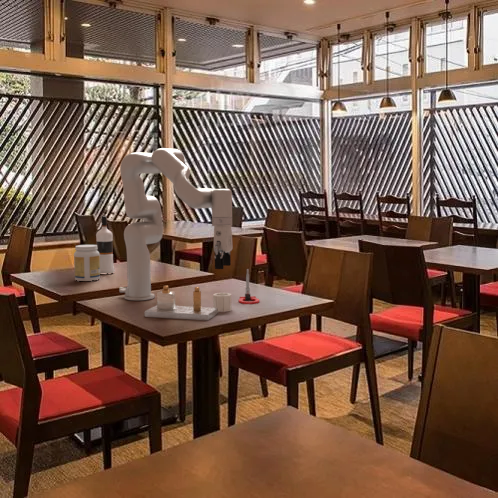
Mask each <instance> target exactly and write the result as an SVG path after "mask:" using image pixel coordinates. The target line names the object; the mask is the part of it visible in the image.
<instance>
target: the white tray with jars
mask: <svg viewBox="0 0 498 498" xmlns="http://www.w3.org/2000/svg"><path fill="white" fill-rule="evenodd" d="M201 291H202V290H200V286H194V291H192V300H193V303H192V306H188V305H187V306H185V305H176V292H175V291H172V290H170V288H169V285H163V288H162V289H161V291H157V292H156V305H154V306H152V307H150V308H148V309H146V310H145V311H144V317H146V318H162V319H178V320H195V321H196V320H197V321H209V320H211V319H213V318H214V317H215V316H217V315H218V314H219V312H218V308H213V307H210V306H209V307H208V306H207V307H205V306H202V292H201Z"/></svg>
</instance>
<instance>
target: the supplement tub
mask: <svg viewBox="0 0 498 498" xmlns="http://www.w3.org/2000/svg"><path fill="white" fill-rule="evenodd" d="M97 249H98V248H97V244H78V245H75V251H74V253H73V260H74V261H73V262H74V263H73V265H74V266H73V267H74V280H75V281H76V280H77V281H76V282H79V281H91V280H97V279H99V280H100V278H101V275H100V256H99V255H100V254H99V252H98V251H97ZM97 281H98V280H97ZM91 282H92V281H91Z"/></svg>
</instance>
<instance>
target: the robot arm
mask: <svg viewBox="0 0 498 498" xmlns="http://www.w3.org/2000/svg"><path fill="white" fill-rule="evenodd" d="M119 168H120V169H119V173H120V177H121V182H122V187H123V189H122V190H123V199H124V208H125V213H126V216H127V217H128V218H129V219H135V220H139V219H140V220H141V219H143V221H135V222H132V223H130V224H128V225H127V226H125V228H124V231H123V240H124V243H125V248H126V262H127V263H126V265H127V266H126V268H127V269H126V270H127V273H126V274H127V286H126V287H122V286H121V287H119V289H118V290H119V293H121V294H122V293H124V295H123V298H124V300H128V301H149V300H152V299H155V298H156V294H155V293H152V285H151V284H152V282H151V281H152V280H151V277H152V274H151V271H152V270H151V254H150V250H149V249H148V245H151V244H152V245H153V244H156V243H159V242H160V241H161V240H162V238H163V235H164V229H163V228H164V227H163V216H162V215H163V213H162V207H161V203H160V202H159V200H158V198H157V197H155V196H153V195H149V194H146V192H145V183H144V181H143V179H142V178H141V176H140V175H141V174H145V175H146V174H148V175H149V174H150V175H151V174H153V175H155V174H162V175H163V176H164V177H165V178H167V179H168V181H170V182H171V183H172V184H173V189H174V192H175V194H176V195H177V197H178V198H179V200H181V201H182V202H183V203H184V204H186V205H187V206H188V207H190V208H192V209H195V210H196V209H211V219H212V220H211V226H212V227H213V252H214V269H215V270H224V266H226V267H227V266H228V267H229V266H231V262H232V261H231V260H232V259H231V252H232V250H233V248H234V247H233V231H232V226H233V196H232V195H233V194H232V193H233V192H232V190H231V189H229V188H212V187H211V188H210V187H207V188H204V187H203V188H202V187H201V188H197V187H196V186H194V185H193V184H192V183H191V182H189V180H188V179H189V178H190V175H191V169H190V168H189V167H188V166H187V165H186V164H185V155H184V153H183V152H182V151H181V150H179V149H177V148H168V147H167V148H166V147H161V148H157V149H155V150H154V151H153V152H139V151H137V152H136V151H135V152H131V153H128V154H126V155H125V156H124V157H123V159H122V160H121V162H120V167H119Z"/></svg>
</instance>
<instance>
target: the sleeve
mask: <svg viewBox="0 0 498 498" xmlns="http://www.w3.org/2000/svg"><path fill="white" fill-rule="evenodd" d="M212 308H218V313H219V312H220V313H225V312H230V311H232V293H229V292H216V293H213V294H212Z"/></svg>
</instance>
